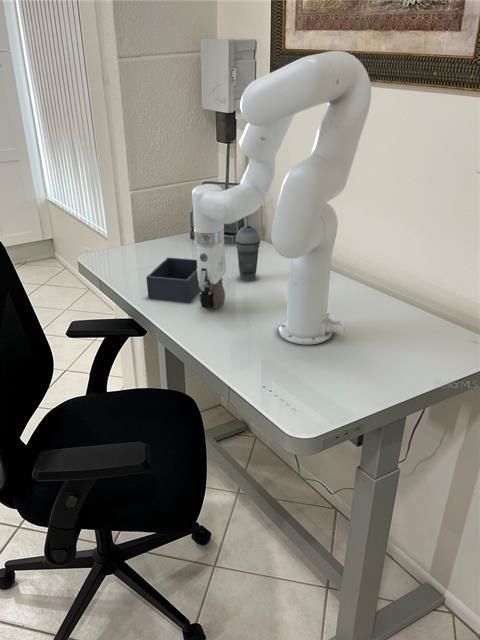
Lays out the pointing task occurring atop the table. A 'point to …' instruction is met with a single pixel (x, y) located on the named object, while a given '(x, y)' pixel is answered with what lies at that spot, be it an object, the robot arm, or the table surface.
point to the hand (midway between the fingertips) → (212, 300)
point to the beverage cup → (247, 251)
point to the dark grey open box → (174, 280)
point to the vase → (216, 295)
